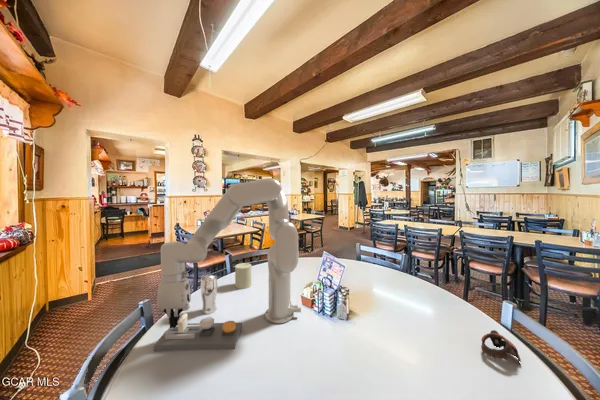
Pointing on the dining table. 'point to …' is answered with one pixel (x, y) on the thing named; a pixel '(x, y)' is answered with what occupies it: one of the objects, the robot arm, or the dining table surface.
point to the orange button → (229, 326)
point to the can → (243, 275)
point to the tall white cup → (209, 293)
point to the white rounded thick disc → (206, 323)
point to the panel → (198, 338)
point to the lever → (182, 324)
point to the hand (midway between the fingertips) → (174, 325)
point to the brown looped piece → (498, 342)
